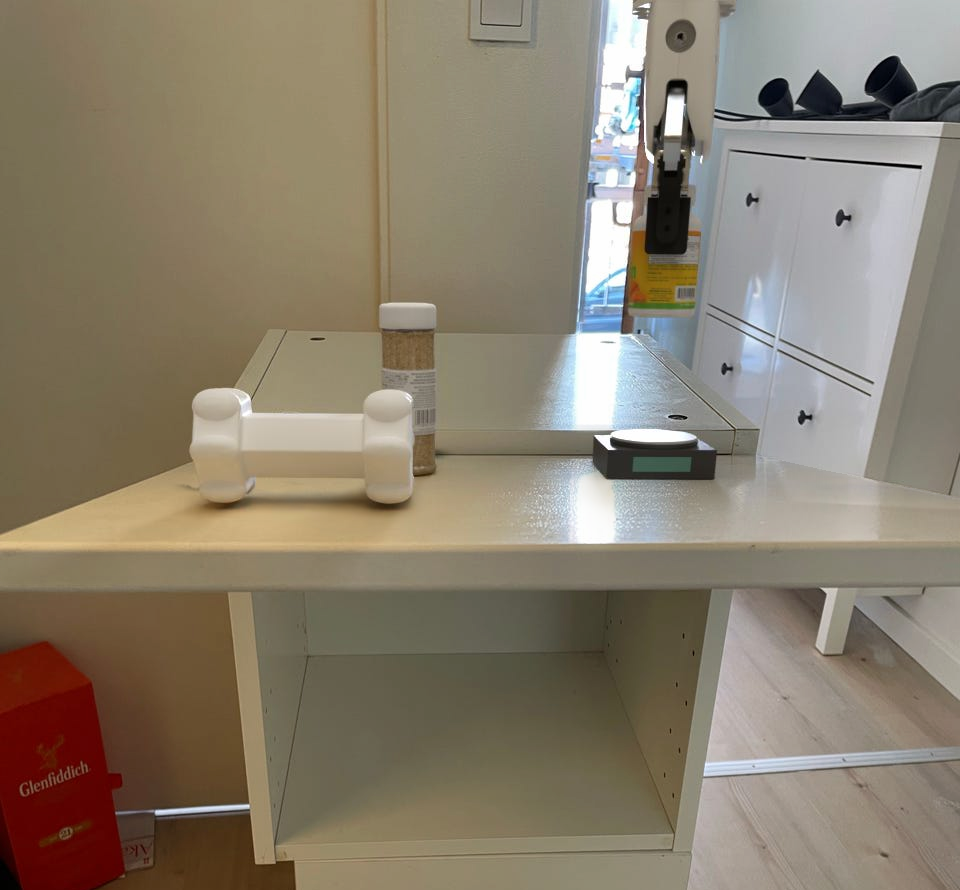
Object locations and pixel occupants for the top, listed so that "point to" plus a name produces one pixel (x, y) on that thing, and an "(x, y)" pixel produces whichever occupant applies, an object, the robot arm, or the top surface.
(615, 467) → the scale
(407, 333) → the sprinkles bottle
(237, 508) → the top surface
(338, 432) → the white bone
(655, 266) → the supplement bottle
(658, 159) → the robot arm
